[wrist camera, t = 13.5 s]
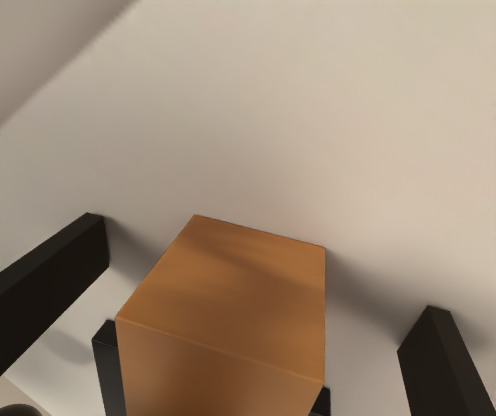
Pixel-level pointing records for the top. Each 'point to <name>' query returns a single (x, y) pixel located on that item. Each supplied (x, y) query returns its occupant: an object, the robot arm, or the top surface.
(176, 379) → the brown wooden cube
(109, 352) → the black lever base
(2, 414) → the lever
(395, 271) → the top surface
